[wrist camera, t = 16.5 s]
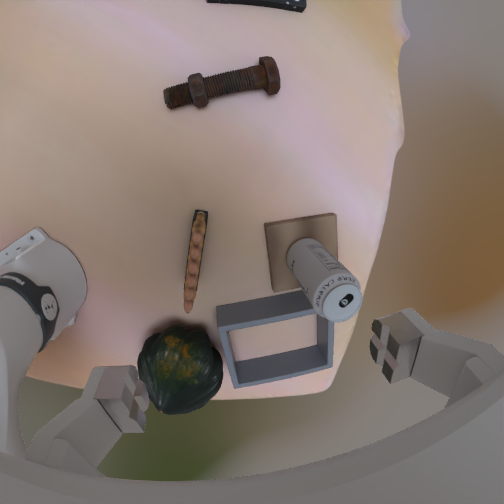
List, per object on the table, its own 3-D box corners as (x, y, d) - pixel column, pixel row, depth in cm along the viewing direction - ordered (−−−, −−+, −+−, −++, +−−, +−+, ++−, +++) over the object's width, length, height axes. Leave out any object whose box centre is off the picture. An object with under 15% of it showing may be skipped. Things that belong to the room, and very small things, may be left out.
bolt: (169, 98, 36) (269, 75, 36) (173, 124, 36) (279, 99, 36) (158, 74, 30) (270, 48, 31) (161, 100, 30) (281, 72, 30)
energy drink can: (277, 255, 43) (306, 306, 29) (306, 228, 42) (350, 268, 28) (301, 279, 45) (336, 335, 31) (329, 254, 44) (375, 301, 31)
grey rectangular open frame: (231, 366, 52) (234, 388, 46) (216, 306, 47) (217, 327, 41) (322, 347, 53) (332, 367, 48) (321, 286, 48) (334, 303, 42)
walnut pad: (272, 288, 47) (274, 292, 45) (264, 223, 43) (265, 226, 41) (334, 275, 48) (338, 279, 46) (332, 212, 44) (336, 214, 42)
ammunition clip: (197, 277, 45) (194, 320, 33) (186, 276, 44) (179, 318, 33) (208, 211, 41) (206, 235, 30) (195, 209, 41) (189, 233, 30)
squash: (249, 346, 44) (181, 391, 31) (227, 401, 49) (171, 443, 37) (186, 302, 50) (117, 327, 38) (175, 359, 55) (117, 388, 43)
